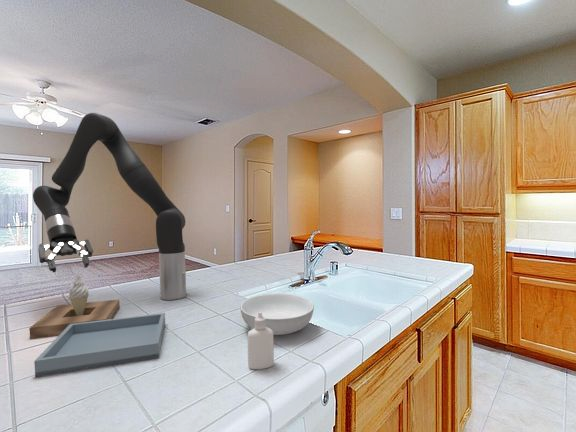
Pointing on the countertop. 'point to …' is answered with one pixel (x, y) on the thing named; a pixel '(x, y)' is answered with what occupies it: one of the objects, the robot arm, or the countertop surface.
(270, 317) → the serving bowl
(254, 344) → the eye dropper bottle
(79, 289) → the ice cream cone
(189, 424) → the countertop surface
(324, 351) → the countertop surface
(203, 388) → the countertop surface
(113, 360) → the slate blue tray
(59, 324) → the walnut board
